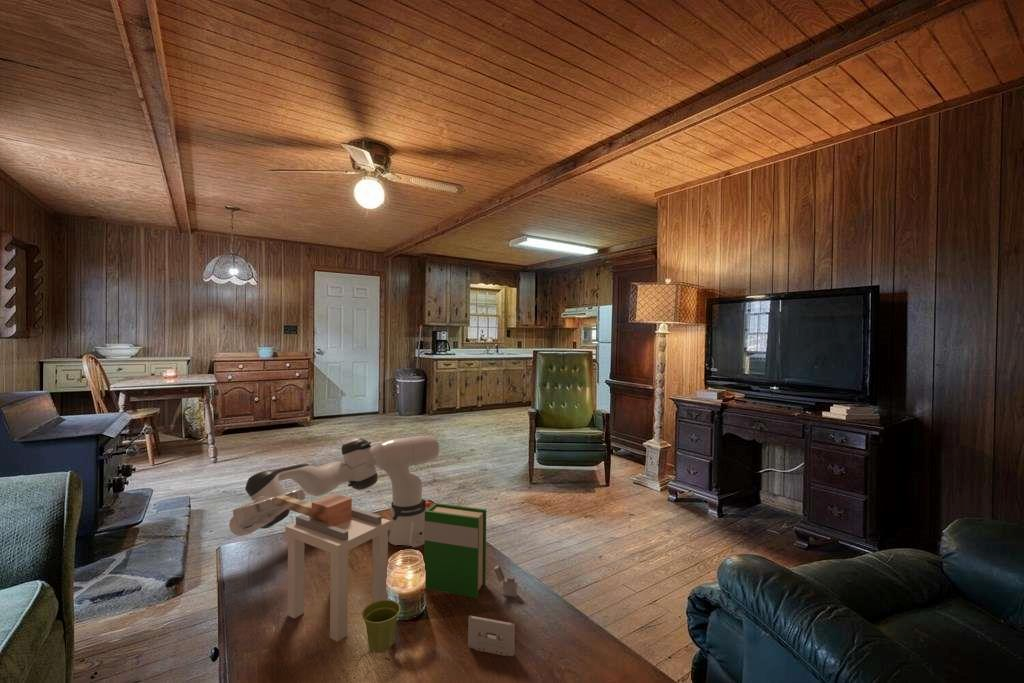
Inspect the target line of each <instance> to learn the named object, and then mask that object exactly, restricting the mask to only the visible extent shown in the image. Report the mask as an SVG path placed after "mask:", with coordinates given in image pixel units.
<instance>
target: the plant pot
mask: <svg viewBox="0 0 1024 683" xmlns="http://www.w3.org/2000/svg"><path fill="white" fill-rule="evenodd" d="M401 608H402V607H401V605H400V603H398V601H395V600H392V599H387V600H380V601H376V602H373V603H372V602H371V603H370V604H368V605H367V606H365V608H364V609H363V610H362V613H361V617H362V620H364V624H365V627H366V628H365V629H366V635H367V642H368V647H369V649H370V651H374V652H375V653H383V652H386V651H388V650H389V649H390V648H391V647H392V646H393V645H395V644H394V643H395V637H396V630H397V622H398V618H399V614H400V613H401Z"/></svg>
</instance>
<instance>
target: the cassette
mask: <svg viewBox="0 0 1024 683" xmlns="http://www.w3.org/2000/svg"><path fill="white" fill-rule="evenodd" d="M467 620H468V623H467V626H468V627H467V630H468V631H467V636H468V637H467V647H468V648H469V649H474V650H475V651H479V652H485V653H490V654H494V655H500V656H504V657H506V656H509V657H514V656H515V645H516V644H515V642H516V640H515V639H516V638H515V635H516V634H515V632H516V627H515V626H516V625H515V623H514V622H513V623H512V622H507V621H504V620H503V621H502V620H497V619H491V618H485V617H480V616H476V615H475V616H474V615H469V616H468V619H467Z"/></svg>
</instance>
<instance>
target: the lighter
mask: <svg viewBox="0 0 1024 683" xmlns="http://www.w3.org/2000/svg"><path fill="white" fill-rule="evenodd" d="M493 571H494V572H495V575H496V578H497V580H498V582H499V583H500V582H502V596H506V597H507V596H508V597H512V598H517V596H518V579H515V577H514V576H510V575H507V577H505V575H504V573H503V570H502V568H501V565H496V566H495V567H494V568H493Z"/></svg>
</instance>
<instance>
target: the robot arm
mask: <svg viewBox="0 0 1024 683" xmlns="http://www.w3.org/2000/svg"><path fill="white" fill-rule="evenodd" d="M371 444H372V442H371V441H368V440H367V439H365V438H362V437H360V438H358V437H355V438H350V439H348V440H347V441H346V442H344V444H342V446H341V455H343V456H342V457H343V461H344V462H343V461H340V460H339V461H338V460H337V461H336V460H335V461H332V462H328V463H324V464H323V465H320V466H312V465H311V464H308V463H301V464H295V465H290V466H286V467H281V468H276V469H267V470H262V471H259V472H256V473H254V474H253V475H251V476H250V477H249V478H248V479H247V481H246V484H245V491H246V493H247V494H248V496H249V497H250V499H251V501H250V502H248V503H246V504H244V505H241V506H238V507H236V508H234V509H233V510H232V515H233V516H232V517H231V519H230V520H229V525H228V527H229V529H230V532H231V533H232V534H233V535H234V536H238V537H244V536H247V535H251V534H252V533H254V532H256V531H257V530H259V529H269V528H271V527H272V526H274V525H276V524H277V523H280V522H281V521H283V520H284V519H285V518H286V517H288V516H289V514H290V512H291V510H289V509H286V508H283V507H280V506H277V505H275V503H276V501H275V497H276V496H279V495H286V496H289V497H292V498H295V499H298V500H302V501H304V500H305V499H306V494H305V493H307V494H308V495H310V496H313V497H320V496H323V495H326V494H329V493H330V492H332V491H333V490H335V489H337V488H338V487H339V486H341V485H343V484H344V483H348V484H347V487H351V488H352V489H354V490H357V491H361V490H362V491H364V490H368V489H370V488H372V487H373V486H374V485H375V484H376V483H377V482H378V480H379V476H378V472H377V471H376V466H377V467H378V468H379V469H381V471H384V472H385V473H386V475H388V477H389V479H390V482H391V488H392V502H391V508H390V516H391V529H390V530H389V532H388V543H389V544H392V545H393V546H397V545H409V546H412V547H411V548H418V547H421V546H423V545H424V539H425V511H426V510H427V509H428V508H430V507H431V506H432V504H431V502H429V501H428V500H425V499H424V498H423V483H422V480H421V478H420V477H419V476H417V475H415V474H413V473H411V472H410V470H409V469H410V467H412V466H418V465H424V464H427V463H429V462H432V461H434V460H436V459H437V457H438V456H439V453H440V445H439V444H440V443H439V442H438V440H437V438H436V437H435V436H433V435H425V434H424V435H423V434H421V435H415V436H407V437H400V438H392V439H388V440H385V441H382V442H380V443H378V444H377V445H374V446H372V445H371ZM286 480H292V481H294V482H295V483H296V484H298V486H300V488H298V489H295V490H292V491H289V492H285V490H284V488H283V486H282V484H281V483H280V482H282V481H286ZM409 546H408V547H409Z"/></svg>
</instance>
